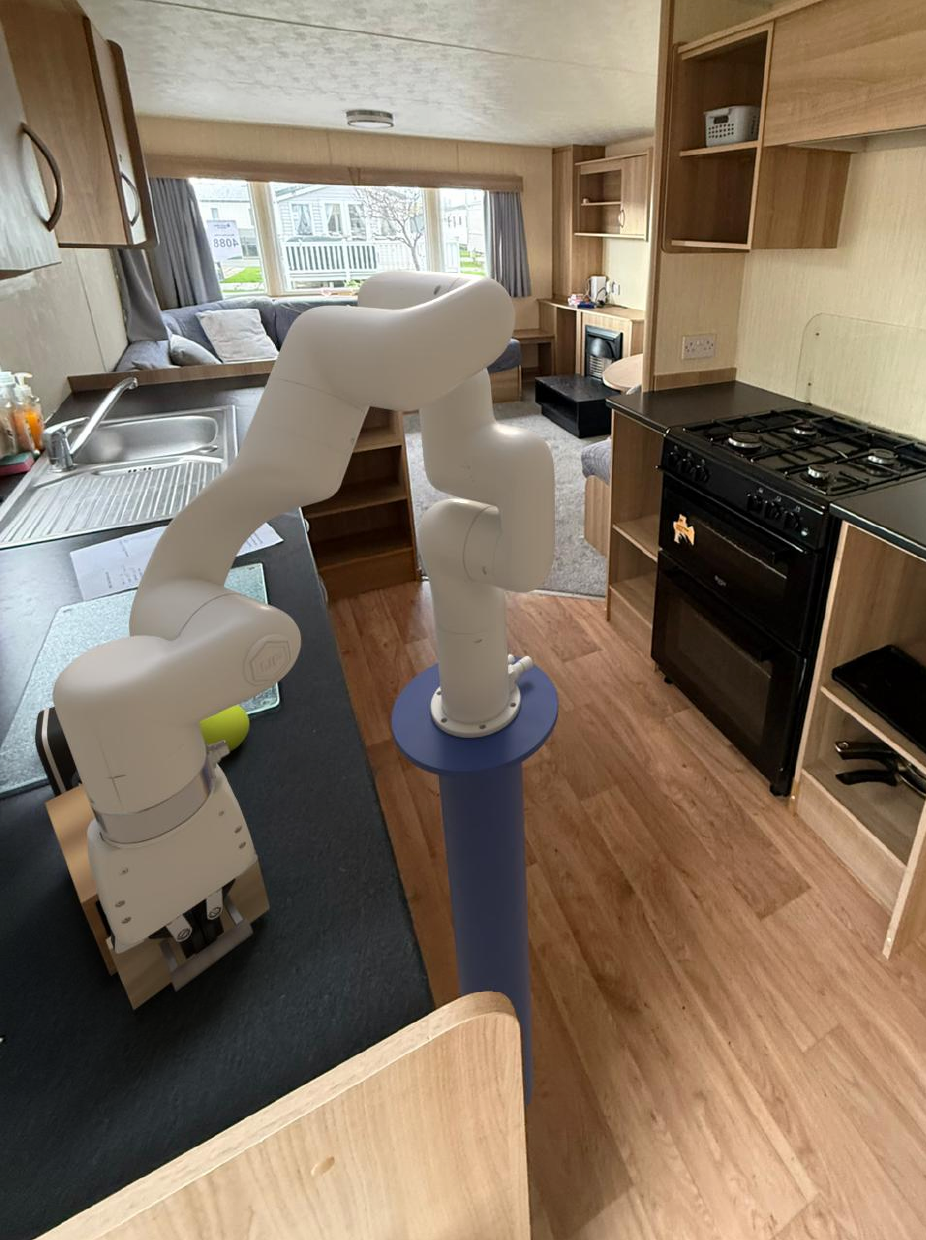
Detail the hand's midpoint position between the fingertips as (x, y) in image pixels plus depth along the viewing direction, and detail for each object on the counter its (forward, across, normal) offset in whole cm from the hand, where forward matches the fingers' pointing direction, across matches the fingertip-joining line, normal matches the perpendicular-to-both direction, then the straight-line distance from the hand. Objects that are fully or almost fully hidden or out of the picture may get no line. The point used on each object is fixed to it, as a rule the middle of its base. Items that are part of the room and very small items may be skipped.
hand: (205, 947), depth 55 cm
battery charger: (+4, +3, -32) cm, 33 cm away
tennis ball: (+1, -11, -27) cm, 29 cm away
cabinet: (+4, 0, -14) cm, 15 cm away
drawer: (+3, 0, -6) cm, 7 cm away
